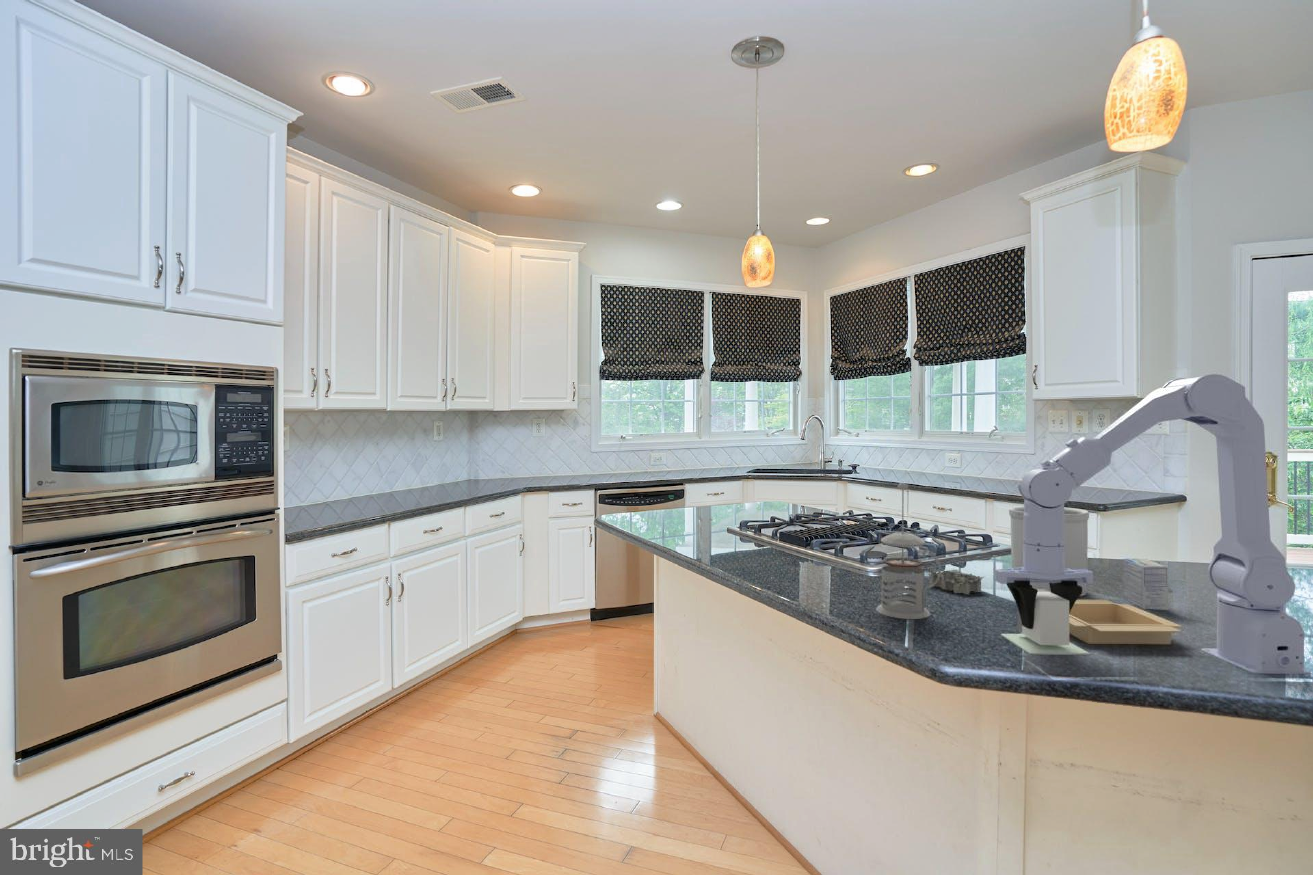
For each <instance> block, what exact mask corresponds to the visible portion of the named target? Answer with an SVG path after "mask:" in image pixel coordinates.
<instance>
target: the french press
mask: <svg viewBox="0 0 1313 875" xmlns="http://www.w3.org/2000/svg"><path fill="white" fill-rule="evenodd" d="M897 489H899V490H901V491H902V493H901V494H902V497H901V498H902V500H901V502H902V503H901V504H902V506H901V508H902V510H901V511H902V512H901V513H902V514H901V515H902V516H901V517H902V518H901V520H902V523H901V526H902V528H901V529H902V530H901V531H900V532H893V533H891V534H888V535H885V536H884V537H881V538H880V542H881V543H882V544H883V545H886V546H893V547H897V548H898V547H899V548H902V549H901V552H902V553H901V557H888V558H884V559H883V560H882V561H883V563H884V564H885V565H883V566H882V567H881V604H879V605H878V606H877V607H876V610H875V611H877V612H878V613H879V614H881V615H883V616H887V617H892V618H895V619H896V618H897V619H905V620H906V619H907V620H918V619H919V620H920V619H924V618H925V619H926V618H928V617H929V616H931V613H930V611H929V610H928V609H927V608H926V590H929V589H931V588H933V587H935V586H934V585H935V584H936V583H937V582H938V580H939V578H940V574H941V572H942V571H941V570H942V566H941V564H942V563H941V562H940V560H939V558H938V556H937V555H936V554H935V553H934V551H931V550H930V549H927V548H926V549H924V550H923V551H922V558H926V555H927V554H928V555H930V556H931V557H932V558H933V559H934V561H935V563H936V566H937V569H938V570H937V572H938V578H937V580H936V582H934V583H933V584H931V585H930V584H928V585H926V586H925V569H923V568H922V567H921V566H923V561H921V560H919V559H915V558H909V557H905V558H904V548H918V547H922V546H925V544H926V541H925V540H924V539H923V538H921V537H920V536H918V535H915V534H913V533H910V532H909V533H908V532H906V531H904V502H905V501H904V495H905V494H904V490H908V489H909V485H908V484H907V483H906V482H899V484H897ZM926 553H927V554H926ZM920 567H921V568H920ZM906 572H908V573H906ZM909 572H913V573H909ZM902 580H905V581H903V582H901V583H897V582H900V581H902ZM892 583H893V585H888V584H892ZM894 583H895V584H894ZM902 587H904V588H902ZM899 588H901V589H899ZM895 589H897V590H895ZM888 590H894V591H892V592H891V591H888ZM898 594H899V595H900V594H902V595H900V596H897V597H893V596H895V595H898ZM888 597H889V598H888ZM890 597H892V598H890Z"/></svg>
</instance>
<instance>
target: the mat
mask: <svg viewBox="0 0 1313 875" xmlns="http://www.w3.org/2000/svg"><path fill="white" fill-rule="evenodd" d="M1000 636H1002V637H1003V638H1005V639H1006V640H1008V641H1009V642H1011V643H1012V644H1013V645H1015V646H1016V647H1018V648H1020V649H1021V650H1022V651H1024V652H1026V653H1027V654H1029V655H1045V656H1046V655H1049V656H1050V655H1052V656H1053V655H1055V656H1056V655H1061V656H1062V655H1067V656H1069V655H1070V656H1071V655H1072V656H1073V655H1074V656H1076V655H1079V656H1083V655H1084V656H1085V655H1087V656H1088V655H1090V652H1088V651H1086V650H1085V649H1083V648H1081V647H1079V646H1077V645H1076V644H1074V643H1072V642H1070V641H1069V645H1040V644H1038V643H1036V642H1035V641H1033V640H1032V639H1030V638H1028V637H1027V636H1025V635H1024V634H1022V633H1000Z"/></svg>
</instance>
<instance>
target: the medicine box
mask: <svg viewBox="0 0 1313 875" xmlns="http://www.w3.org/2000/svg"><path fill="white" fill-rule="evenodd" d="M1121 570H1122V576H1121V577H1122V582H1121V583H1122V600H1125V601H1127V602H1130V603H1131V604H1134V605H1136V606H1137V607H1139V608H1141V609H1142V610H1143V609H1144V610H1158V611H1159V610H1161V611H1162V610H1163V611H1169V568H1168V567H1167V566H1166V565H1163V564H1161V563H1158V562H1155V561H1152V560H1149V559H1146V558H1136V557H1135V558H1131V557H1130V558H1123V559H1122V569H1121Z"/></svg>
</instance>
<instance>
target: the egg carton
mask: <svg viewBox="0 0 1313 875" xmlns="http://www.w3.org/2000/svg"><path fill="white" fill-rule="evenodd" d="M925 570H926V571H928V572H930V574H929V585H931V584H933V583H934V582H936V580H937V578H938V571H937V572H936V571H935V570H933V569H932V568H930V567H926V569H925ZM983 579H985V576H979V575H978V576H976V575H973V574H972V573H969V574H968V573H965V572H962V571H960V570H958V569H949V570H942V571H941V574H940V578H939V580H938V582H937V583H936V584H935V585H934V586H933V587H938V588H941V590H944V589H945V590H944V591H952V590H953V593H954V594H957V593H964V594H963V595H966V594H967V595H970V594H971V592H970V591H975V592H974V593H976V592H980V591H981V592H982V580H983Z"/></svg>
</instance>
